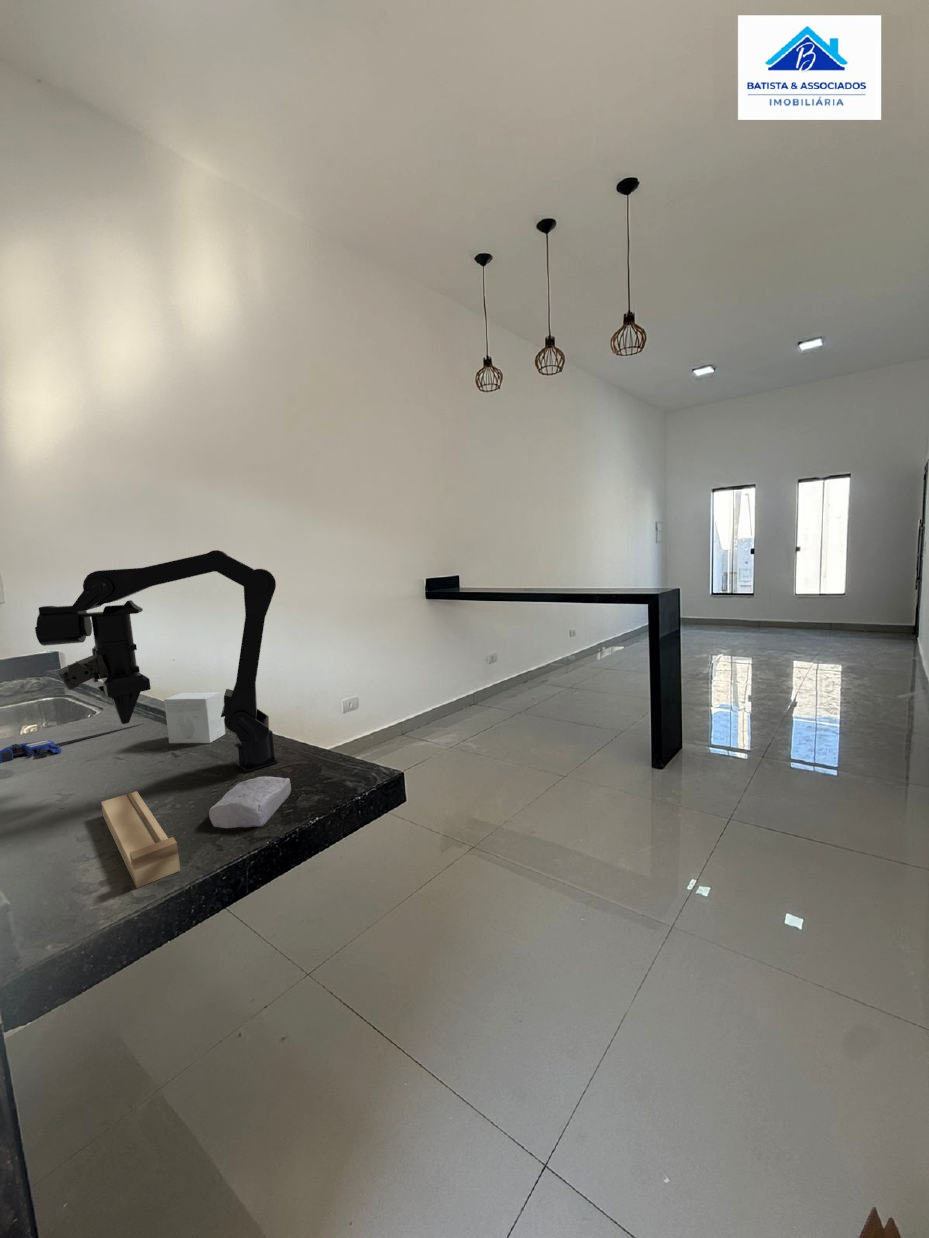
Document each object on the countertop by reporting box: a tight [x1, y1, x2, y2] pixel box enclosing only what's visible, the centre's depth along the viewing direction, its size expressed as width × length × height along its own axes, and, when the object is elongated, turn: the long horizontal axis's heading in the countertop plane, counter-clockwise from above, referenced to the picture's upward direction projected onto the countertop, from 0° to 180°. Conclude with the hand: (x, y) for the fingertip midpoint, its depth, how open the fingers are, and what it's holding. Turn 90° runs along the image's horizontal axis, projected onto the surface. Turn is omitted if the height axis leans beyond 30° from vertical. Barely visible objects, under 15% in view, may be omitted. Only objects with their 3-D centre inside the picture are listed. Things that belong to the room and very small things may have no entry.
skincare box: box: [163, 692, 226, 744], centre depth 117 cm, size 10×6×10 cm, turn 83°
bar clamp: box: [0, 723, 145, 764], centre depth 120 cm, size 32×2×10 cm
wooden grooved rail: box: [100, 791, 181, 889], centre depth 75 cm, size 5×26×4 cm, turn 43°
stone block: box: [208, 776, 292, 829], centre depth 83 cm, size 12×5×10 cm
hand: (125, 723), depth 92 cm, fingers closed
